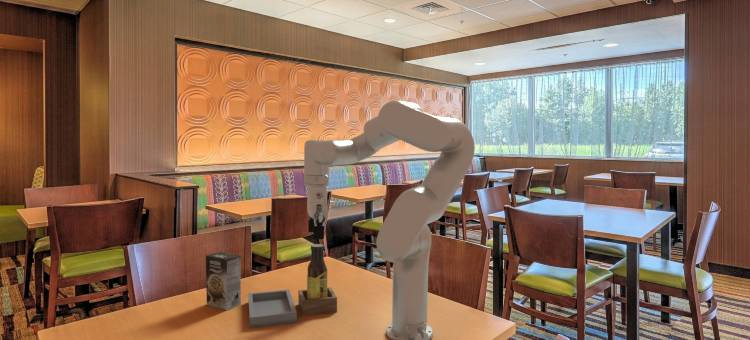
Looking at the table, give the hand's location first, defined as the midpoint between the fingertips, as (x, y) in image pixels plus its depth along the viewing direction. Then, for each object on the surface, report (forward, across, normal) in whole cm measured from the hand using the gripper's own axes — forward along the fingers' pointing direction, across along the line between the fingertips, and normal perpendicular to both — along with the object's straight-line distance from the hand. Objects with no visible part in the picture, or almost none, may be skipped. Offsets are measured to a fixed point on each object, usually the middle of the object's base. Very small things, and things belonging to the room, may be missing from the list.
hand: (315, 235), depth 136 cm
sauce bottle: (+23, -1, 0) cm, 23 cm away
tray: (+23, 0, +14) cm, 27 cm away
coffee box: (+24, +10, +28) cm, 38 cm away
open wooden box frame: (+23, -1, 0) cm, 23 cm away
